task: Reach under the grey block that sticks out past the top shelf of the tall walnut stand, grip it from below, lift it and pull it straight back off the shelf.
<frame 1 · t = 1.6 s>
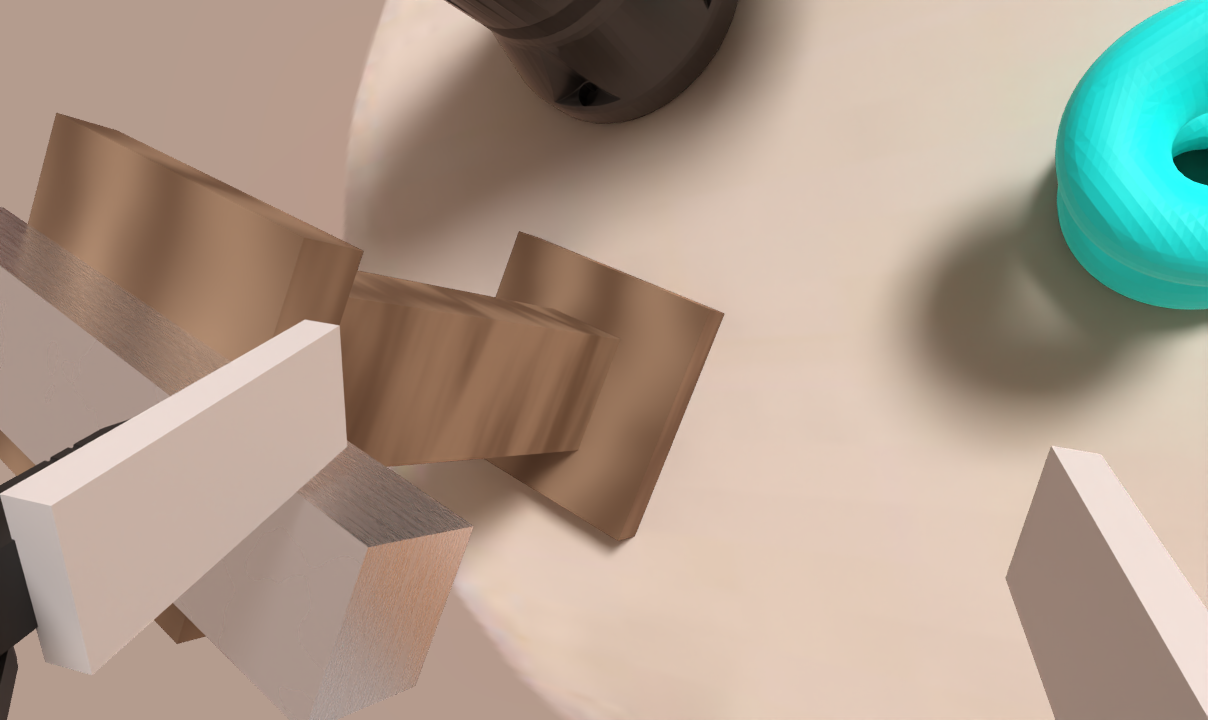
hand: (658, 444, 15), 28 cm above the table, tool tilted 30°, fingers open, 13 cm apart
donuts: (1190, 198, 34), on the table
grey block: (160, 390, 23), point 28 cm above the table, touching stand
stand: (583, 379, 49), on the table
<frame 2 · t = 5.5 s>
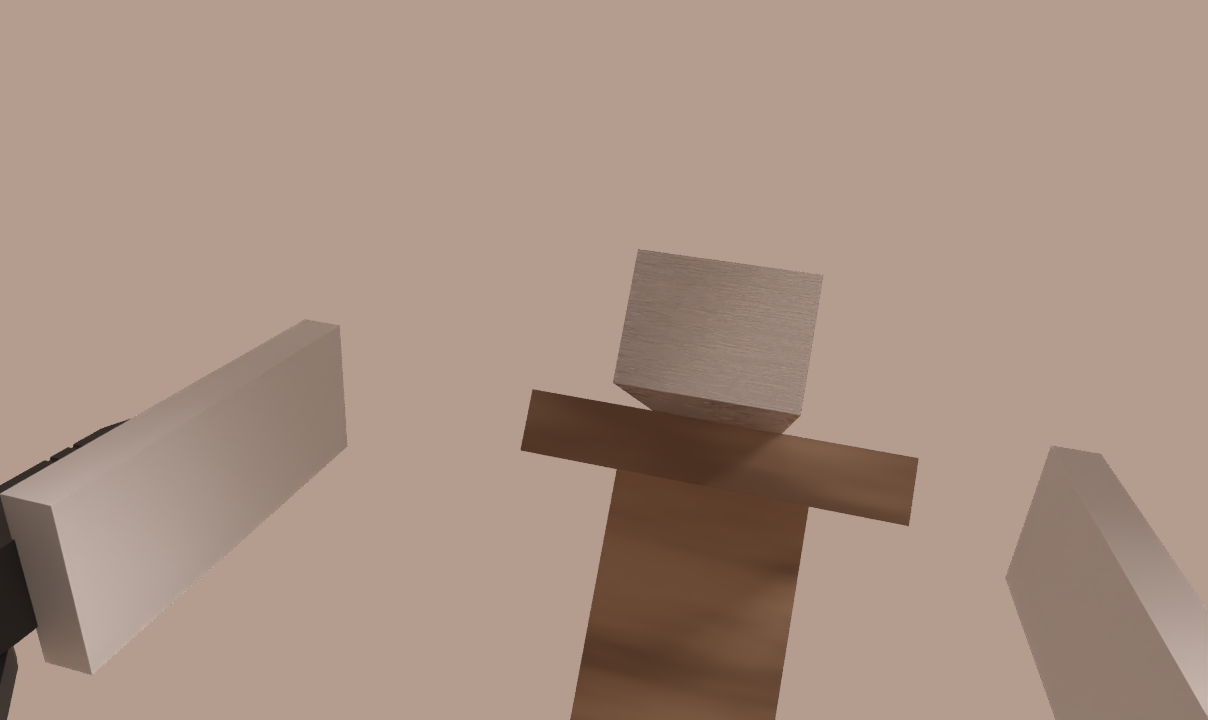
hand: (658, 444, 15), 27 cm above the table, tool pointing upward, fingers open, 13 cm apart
grey block: (719, 429, 28), point 28 cm above the table, touching stand
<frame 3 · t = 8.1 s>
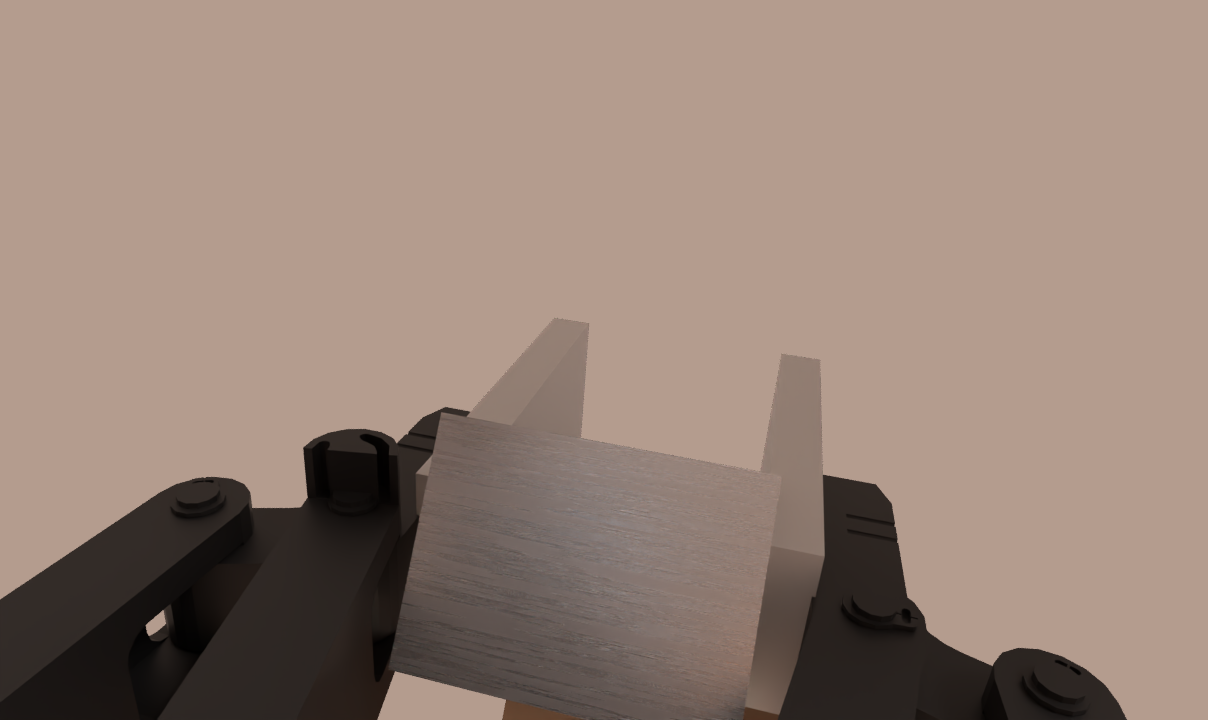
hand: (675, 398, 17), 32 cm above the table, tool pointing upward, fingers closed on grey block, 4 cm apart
grey block: (660, 571, 20), point 28 cm above the table, touching gripper, stand
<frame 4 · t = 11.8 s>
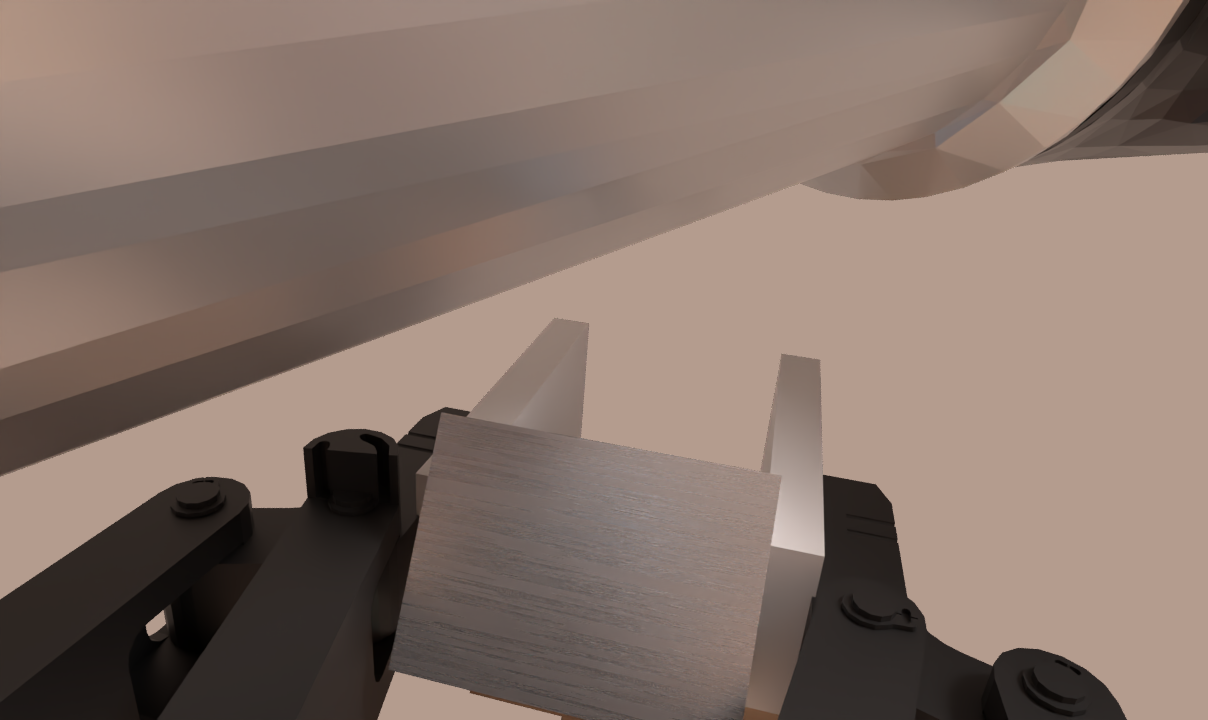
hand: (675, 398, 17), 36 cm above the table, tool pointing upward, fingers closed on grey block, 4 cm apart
grey block: (660, 571, 20), point 32 cm above the table, touching gripper
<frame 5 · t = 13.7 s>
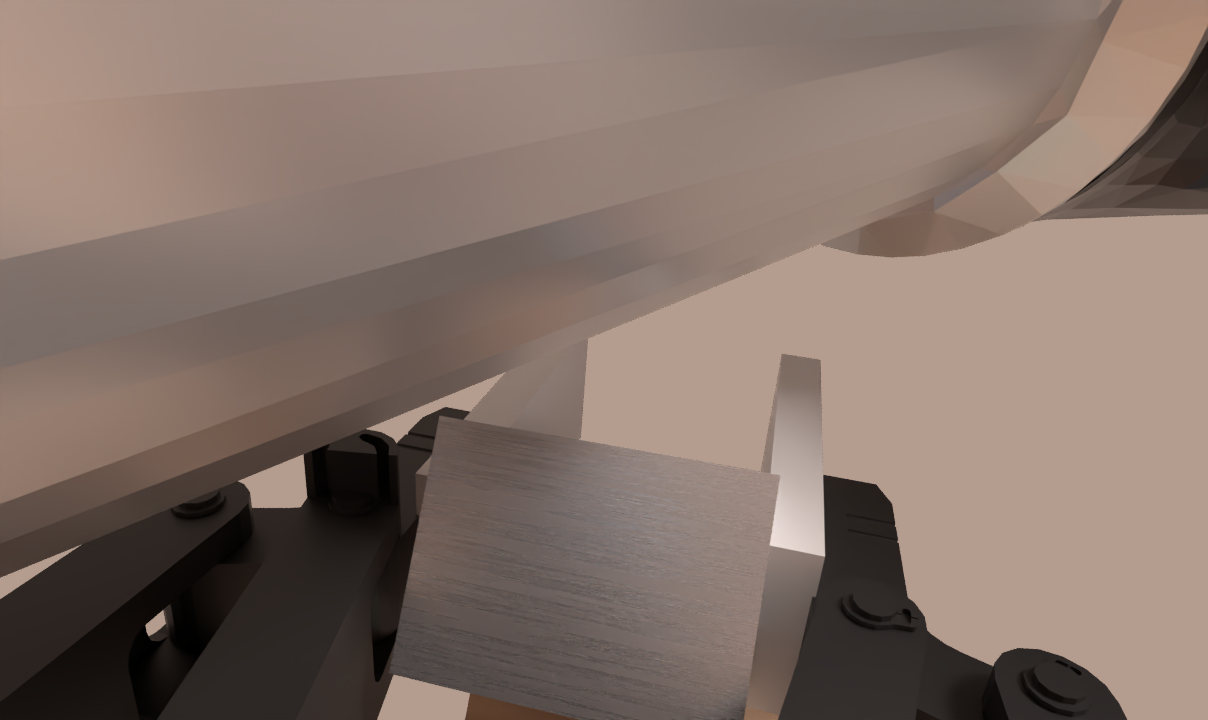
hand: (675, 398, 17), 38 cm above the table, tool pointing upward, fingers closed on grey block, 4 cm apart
grey block: (663, 573, 20), point 34 cm above the table, touching arm, gripper
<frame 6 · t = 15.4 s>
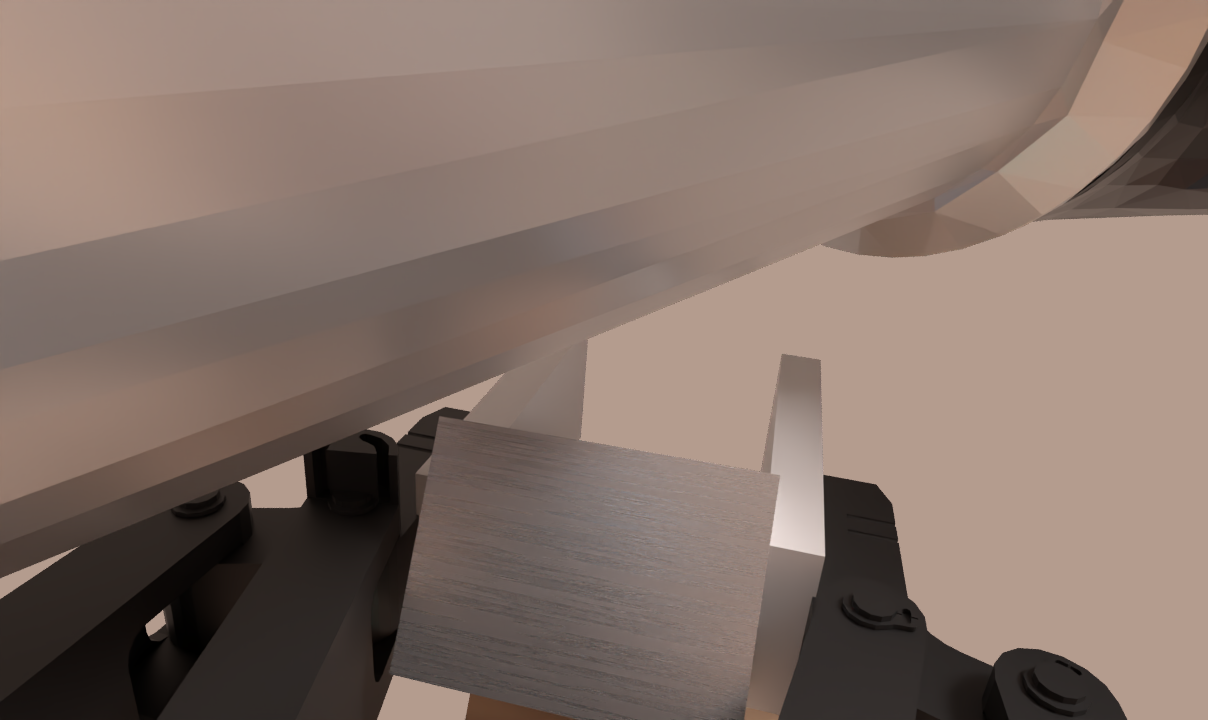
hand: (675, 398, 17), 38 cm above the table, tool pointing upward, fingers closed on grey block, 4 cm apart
grey block: (663, 573, 20), point 34 cm above the table, touching arm, gripper
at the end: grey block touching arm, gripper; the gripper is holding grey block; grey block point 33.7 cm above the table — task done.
